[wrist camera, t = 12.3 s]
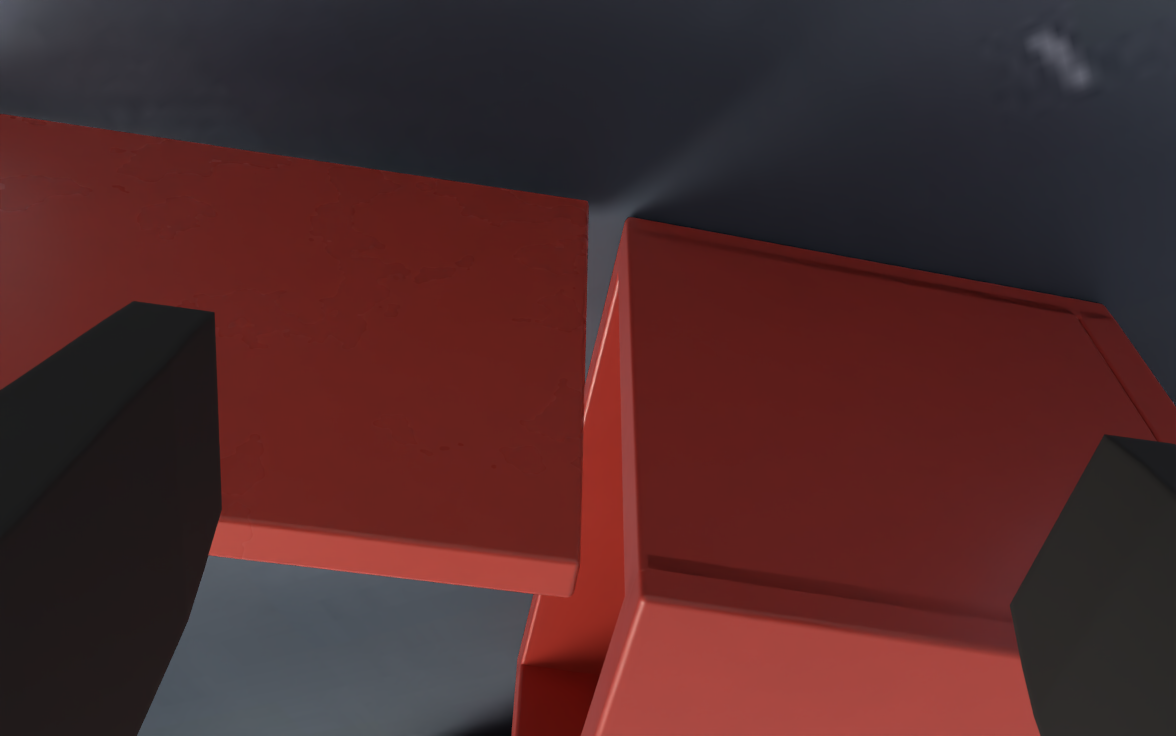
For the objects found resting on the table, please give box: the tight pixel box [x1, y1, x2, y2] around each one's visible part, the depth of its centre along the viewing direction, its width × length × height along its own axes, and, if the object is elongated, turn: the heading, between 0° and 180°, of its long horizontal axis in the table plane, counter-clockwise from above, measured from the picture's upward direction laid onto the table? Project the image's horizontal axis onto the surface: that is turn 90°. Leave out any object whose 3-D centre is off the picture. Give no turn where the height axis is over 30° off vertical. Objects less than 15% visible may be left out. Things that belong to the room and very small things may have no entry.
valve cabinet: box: [511, 217, 1176, 736], centre depth 20 cm, size 12×9×9 cm
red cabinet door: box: [0, 114, 589, 598], centre depth 14 cm, size 12×6×9 cm, turn 81°
